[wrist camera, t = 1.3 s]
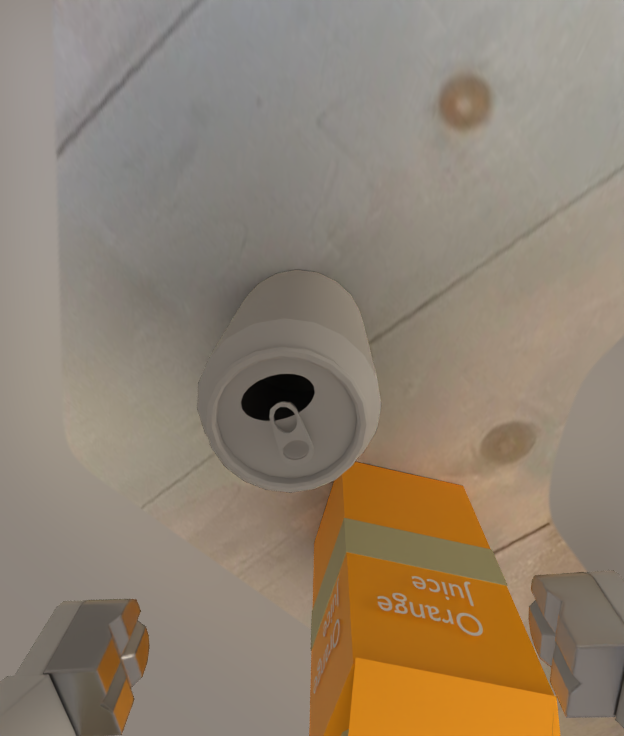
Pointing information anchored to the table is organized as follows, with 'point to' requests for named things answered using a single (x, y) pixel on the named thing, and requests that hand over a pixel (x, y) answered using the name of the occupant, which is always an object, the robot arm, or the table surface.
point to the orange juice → (416, 618)
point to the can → (291, 385)
